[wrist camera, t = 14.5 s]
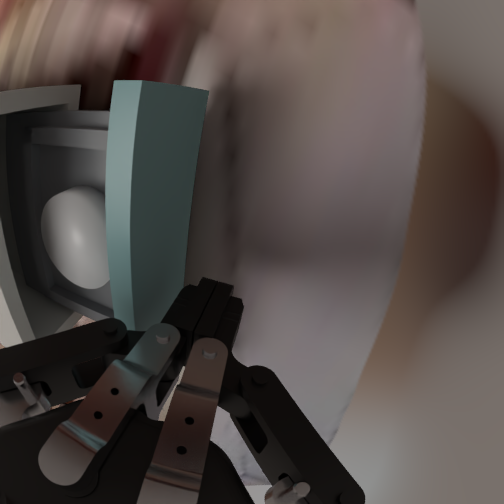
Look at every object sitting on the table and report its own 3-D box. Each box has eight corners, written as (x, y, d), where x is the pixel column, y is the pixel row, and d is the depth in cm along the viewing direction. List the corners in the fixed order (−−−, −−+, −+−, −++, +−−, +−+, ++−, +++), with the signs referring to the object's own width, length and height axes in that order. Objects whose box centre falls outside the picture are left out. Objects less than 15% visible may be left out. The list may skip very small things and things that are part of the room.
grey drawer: (180, 354, 20) (149, 418, 15) (35, 292, 21) (-4, 329, 16) (209, 90, 12) (142, 80, 6) (16, 95, 12) (-49, 108, 7)
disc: (131, 285, 17) (118, 300, 15) (63, 263, 17) (49, 274, 16) (127, 192, 14) (110, 201, 12) (53, 180, 14) (35, 188, 13)
